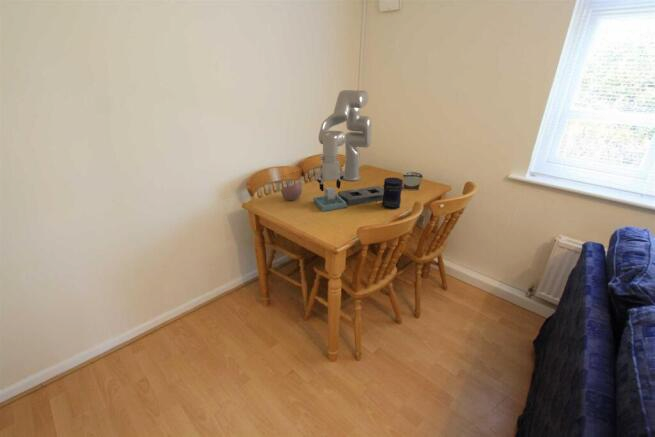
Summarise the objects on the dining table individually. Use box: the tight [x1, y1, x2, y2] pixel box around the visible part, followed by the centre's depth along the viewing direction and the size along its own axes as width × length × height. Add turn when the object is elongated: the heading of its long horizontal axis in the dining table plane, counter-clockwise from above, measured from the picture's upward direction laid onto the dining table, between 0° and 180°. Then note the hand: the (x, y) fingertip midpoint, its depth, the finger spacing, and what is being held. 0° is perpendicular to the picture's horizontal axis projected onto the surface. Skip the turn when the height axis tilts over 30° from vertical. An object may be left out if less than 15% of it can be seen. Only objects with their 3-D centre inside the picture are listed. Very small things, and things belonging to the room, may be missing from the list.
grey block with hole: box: [337, 185, 384, 207], centre depth 178 cm, size 14×28×4 cm, turn 113°
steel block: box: [324, 186, 336, 205], centre depth 167 cm, size 4×4×9 cm
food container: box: [402, 171, 424, 191], centre depth 193 cm, size 12×6×10 cm, turn 84°
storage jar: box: [381, 177, 404, 210], centre depth 165 cm, size 10×10×15 cm
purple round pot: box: [280, 179, 303, 201], centre depth 174 cm, size 12×12×12 cm
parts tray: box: [313, 193, 348, 213], centre depth 168 cm, size 14×14×3 cm
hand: (330, 189), depth 165 cm, fingers open, 9 cm apart
